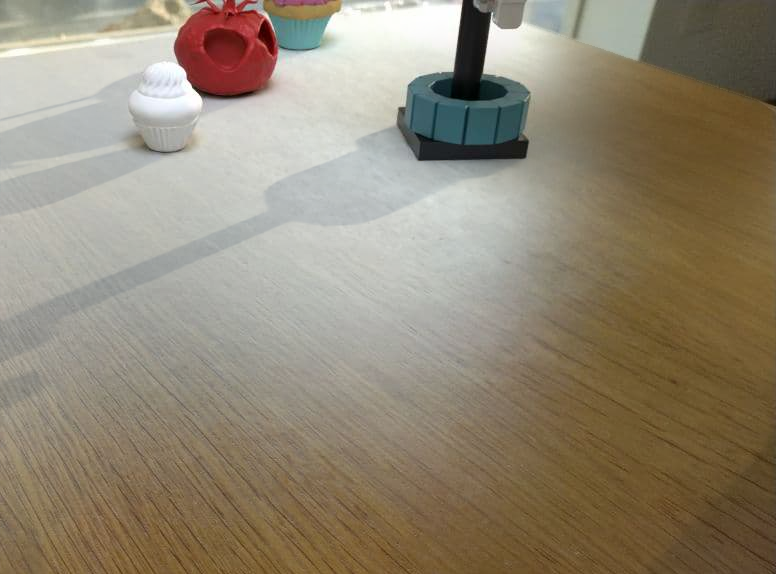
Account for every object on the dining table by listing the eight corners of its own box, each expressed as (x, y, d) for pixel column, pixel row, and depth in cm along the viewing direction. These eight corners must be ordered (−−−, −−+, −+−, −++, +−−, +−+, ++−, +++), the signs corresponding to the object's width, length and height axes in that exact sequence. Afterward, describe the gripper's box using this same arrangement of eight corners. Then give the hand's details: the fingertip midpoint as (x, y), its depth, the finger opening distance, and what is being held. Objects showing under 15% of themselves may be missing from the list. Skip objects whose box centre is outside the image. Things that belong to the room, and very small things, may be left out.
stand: (495, 121, 88) (521, -41, 80) (526, 158, 81) (557, -17, 73) (396, 123, 87) (412, -40, 80) (418, 160, 80) (438, -16, 72)
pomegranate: (157, 81, 97) (153, -19, 92) (242, 66, 102) (242, -30, 96) (210, 109, 90) (208, 2, 85) (298, 91, 95) (302, -11, 90)
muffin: (218, 144, 83) (217, 60, 79) (166, 164, 79) (163, 76, 75) (167, 127, 86) (163, 45, 82) (115, 146, 82) (109, 61, 78)
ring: (504, 105, 87) (509, 70, 85) (538, 143, 79) (545, 107, 77) (395, 106, 87) (398, 72, 85) (418, 145, 79) (423, 108, 77)
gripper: (635, -187, 58) (587, 55, 65) (525, -206, 74) (497, -12, 82) (530, -186, 57) (494, 57, 65) (443, -205, 74) (423, -11, 82)
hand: (495, 18), depth 74 cm, fingers open, 4 cm apart
